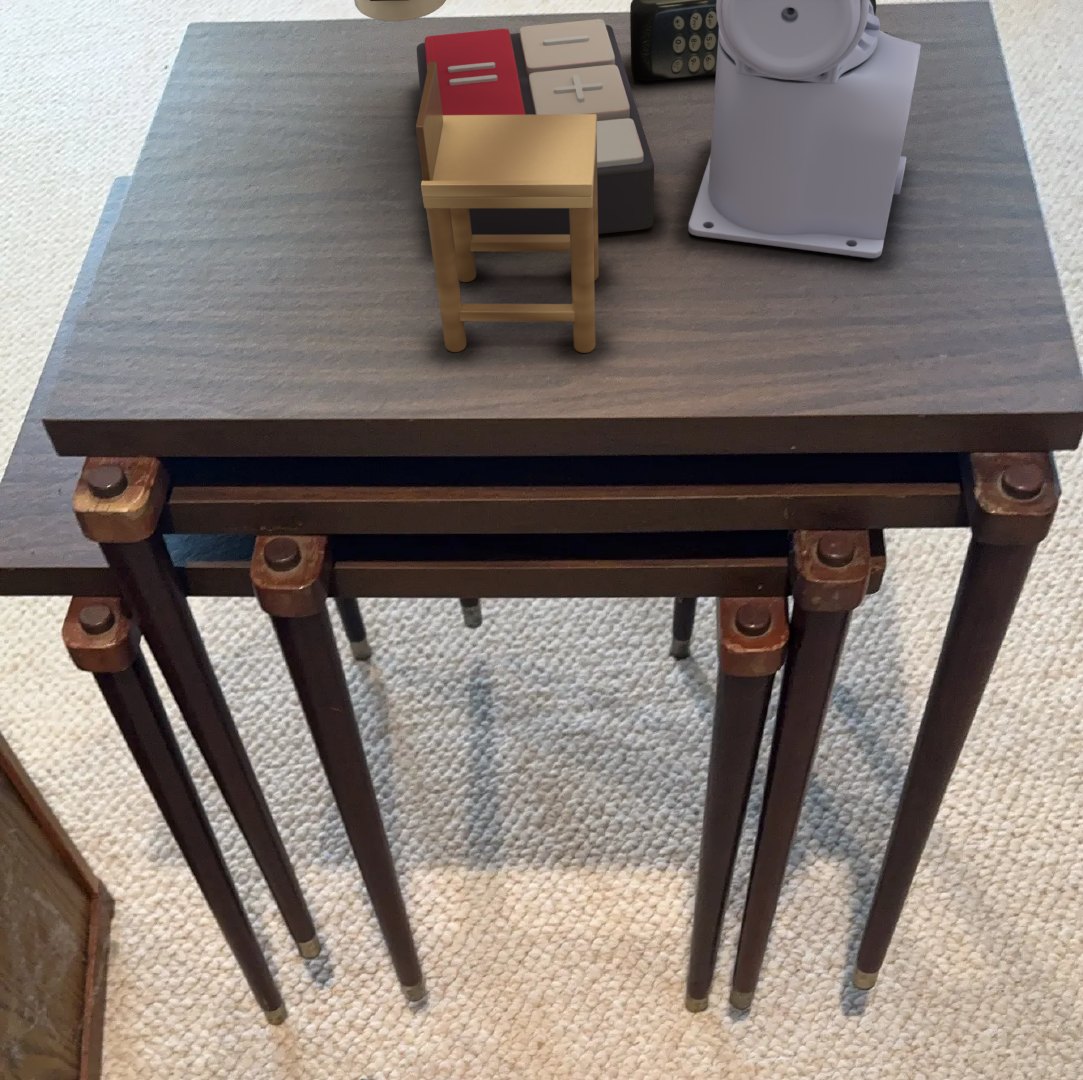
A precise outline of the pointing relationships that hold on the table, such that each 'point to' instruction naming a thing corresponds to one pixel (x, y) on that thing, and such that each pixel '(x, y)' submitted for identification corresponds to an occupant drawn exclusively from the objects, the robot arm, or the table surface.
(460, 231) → the stand
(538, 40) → the calculator
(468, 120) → the wooden l-shaped block
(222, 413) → the table surface
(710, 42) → the mobile phone
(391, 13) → the pan
